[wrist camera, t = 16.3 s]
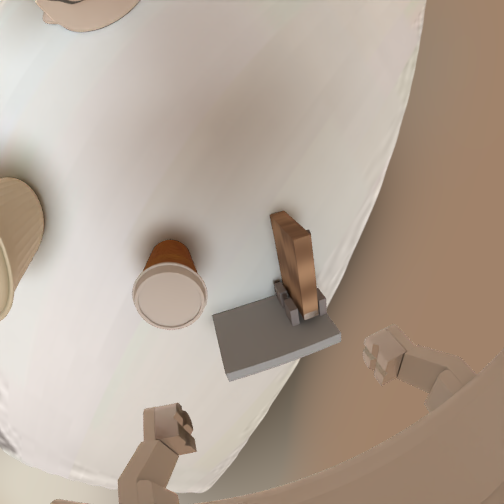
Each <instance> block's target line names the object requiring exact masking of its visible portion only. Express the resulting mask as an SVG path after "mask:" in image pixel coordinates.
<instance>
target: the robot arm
mask: <svg viewBox="0 0 504 504" xmlns="http://www.w3.org/2000/svg"><path fill="white" fill-rule="evenodd" d="M35 2H36V4H37V5H38V6H39V7H40V8H41V9H42V10H43V11H44V14H43V21H44V22H45V23H47V24H59V25H61V26H63V27H64V28H66V29H68V30H71V31H75V32H87V31H93V30H97V29H100V28H102V27H105V26H107V25H109V24H111V23H113V22H115V21H117V20H118V19H120V18H121V17H123V16H124V15H125V14H127V13H128V12H129V11H130V10H131V9H132V8H133V7H134V6H135V5H136V4H137V3H138V2H139V0H35ZM364 344H365V346H366V347H365V349H364V350H363V357H364V361H365V363H366V365H367V366H368V368H369V369H372V370H374V376H375V377H376V379H377V380H378V382H379V383H380V384H381V386H382V385H384V384H386V383H388V382H390V381H391V380H393V379H395V378H397V379H399V380H401V381H403V382H406V383H408V384H410V385H412V386H414V387H416V388H419V389H421V390H423V391H425V392H427V393H429V395H428V397H427V399H426V400H425V403H424V404H425V406H426V408H427V409H428V410H429V412H430V413H429V414H427V415H426V416H424V417H423V418H422V419H420V420H419V421H417V422H416V423H414V424H412V425H411V426H409V427H408V428H406V429H405V430H403V431H402V432H400V433H398V434H396V435H395V436H393V437H392V438H390V439H388V440H386V441H384V442H383V443H381V444H379V445H377V446H375V447H373V448H372V449H370V450H368V451H366V452H364V453H362V454H360V455H358V456H356V457H353V458H351V459H349V460H347V461H345V462H343V463H340V464H338V465H336V466H334V467H331V468H329V469H326V470H324V471H321V472H319V473H316V474H314V475H311V476H309V477H305V478H303V479H300V480H297V481H294V482H291V483H288V484H284V485H281V486H278V487H275V488H271V489H267V490H263V491H260V492H256V493H252V494H247V495H243V496H238V497H233V498H228V499H223V500H216V501H211V502H203V503H195V504H504V349H503V350H502V351H501V352H500V353H499V354H498V355H497V356H496V357H495V358H494V359H493V360H492V361H491V362H490V363H489V364H488V365H487V366H486V367H485V368H484V369H483V370H482V371H481V372H479V373H478V374H476V373H475V372H474V371H473V370H472V369H471V368H470V367H469V366H468V365H467V364H466V362H465V361H464V360H462V358H461V357H458V356H455V355H451V354H448V353H444V352H441V351H438V350H434V349H431V348H428V347H424V346H421V345H417V346H416V345H415V344H414V343H413V342H412V341H411V340H410V339H409V338H408V337H407V336H406V335H405V333H404V332H403V331H402V330H401V329H400V328H399V327H398V326H397V325H395V324H392V325H390V326H388V327H387V328H385V329H382V330H380V331H378V332H376V333H374V334H372V335H370V336H369V337H367V338H365V340H364ZM143 429H144V442H141V443H140V445H139V446H138V448H137V449H136V451H135V453H134V454H133V456H132V458H131V459H130V461H129V463H128V464H127V466H126V468H125V469H124V471H123V473H122V474H121V476H120V477H119V479H118V495H119V504H179V499H178V495H177V494H176V493H174V492H172V491H170V490H168V489H166V486H167V484H168V481H169V479H170V477H171V474H172V472H173V469H174V467H175V465H176V462H177V460H178V457H179V456H178V455H182V454H188V453H193V452H197V451H196V445H195V439H194V438H193V437H192V436H191V433H192V431H193V426H192V422H191V419H190V417H189V415H188V413H187V412H186V411H183V410H182V406H181V405H180V404H179V403H174V404H169V405H164V406H158V407H152V408H146V409H144V412H143ZM51 504H88V503H80V502H73V501H68V500H61V499H56V500H54V501H53V502H52V503H51Z"/></svg>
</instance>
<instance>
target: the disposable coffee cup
mask: <svg viewBox="0 0 504 504" xmlns="http://www.w3.org/2000/svg"><path fill="white" fill-rule="evenodd" d="M132 296H133V301H134V305H135V306H136V308H137V311H138V312H139V314H140V316H141V317H142V318H143V319H144V320H145V321H146V322H148V323H149V324H151V325H153V326H155V327H157V328H162V329H167V330H175V329H181V328H184V327H187V326H189V325H191V324H192V323H194V322H195V321H196V320H197V319H198V318H199V317H200V315H201V313H202V312H203V310H204V308H205V306H206V303H207V298H208V296H207V288H206V285H205V283H204V281H203V280H202V278H201V277H200V276H199V275H198V273H197V270H196V268H195V266H194V263H193V261H192V258H191V255H190V253H189V250H188V248H187V247H186V246H185V245H184V244H182V243H181V242H179V241H176V240H165V241H162V242H160V243H158V244H157V245H156V246H155V247H154V249H153V251H152V253H151V255H150V257H149V259H148V261H147V263H146V266H145V268H144V270H143V272H142V273H141V274H140V275H139V276H138V278H137V279H136V281H135V283H134V286H133V291H132Z"/></svg>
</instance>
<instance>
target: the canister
mask: <svg viewBox="0 0 504 504" xmlns="http://www.w3.org/2000/svg"><path fill="white" fill-rule="evenodd" d="M43 229H44V218H43V212H42V207H41V205H40V201H39V200H38V198H37V195H36V194H35V193H34V191H33V190H32V189H31V188H30V186H28V185H27V184H26V183H25V182H22V181H21V180H19V179H16V178H10V177H4V178H0V321H1V320H2V319H4V318H5V317H6V316H7V314H8V313H9V311H10V309H11V306H12V303H13V298H14V291H15V289H16V288H17V286H18V284H19V282H20V280H21V278H22V276H23V275H24V273H25V271H26V269H27V267H28V266H29V264H30V262H31V260H32V259H33V257H34V255H35V253H36V251H37V250H38V247H39V245H40V243H41V240H42V236H43Z"/></svg>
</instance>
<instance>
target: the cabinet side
mask: <svg viewBox="0 0 504 504" xmlns="http://www.w3.org/2000/svg"><path fill="white" fill-rule="evenodd" d="M274 286H275V290H276V295H274V296H271V297H268V298H265V299H262V300H259V301H256V302H253V303H250V304H247V305H244V306H241V307H238V308H234V309H231V310H228V311H225V312H222V313H218V314H215V315H212V316H213V321H214V325H215V330H216V334H217V339H218V343H219V348H220V352H221V357H222V361H223V365H224V369H225V373H226V376H227V378H228V380H229V382H230V381H233V380H237V379H240V378H243V377H247V376H250V375H253V374H256V373H259V372H262V371H265V370H268V369H271V368H274V367H277V366H280V365H283V364H285V363H288V362H291V361H294V360H296V359H299V358H301V357H304V356H307V355H309V354H312V353H314V352H317V351H319V350H322V349H324V348H326V347H329V346H331V345H334V344H336V343H338V342H341V332H340V331H339V330H338V328H337V327H336V325H335V324H334V323H333V321H332V320H331V319H330V317H329V316H328V315H327V308H326V298H325V296H324V295H323V294H322V293H321V291H320V290H319V289H318V288H316V289H317V300H318V312H319V315H317V316H315V317H312V318H310V319H307V320H304V319H303V317H302V315H301V314H300V312H299V310H298V309H297V307H296V305H295V304H294V302H293V301H292V299H291V298H290V296H289V294H288V293H287V291H286V289H285V288H284V286H283V285H282V283H281V282H278V283H275V284H274Z"/></svg>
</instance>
